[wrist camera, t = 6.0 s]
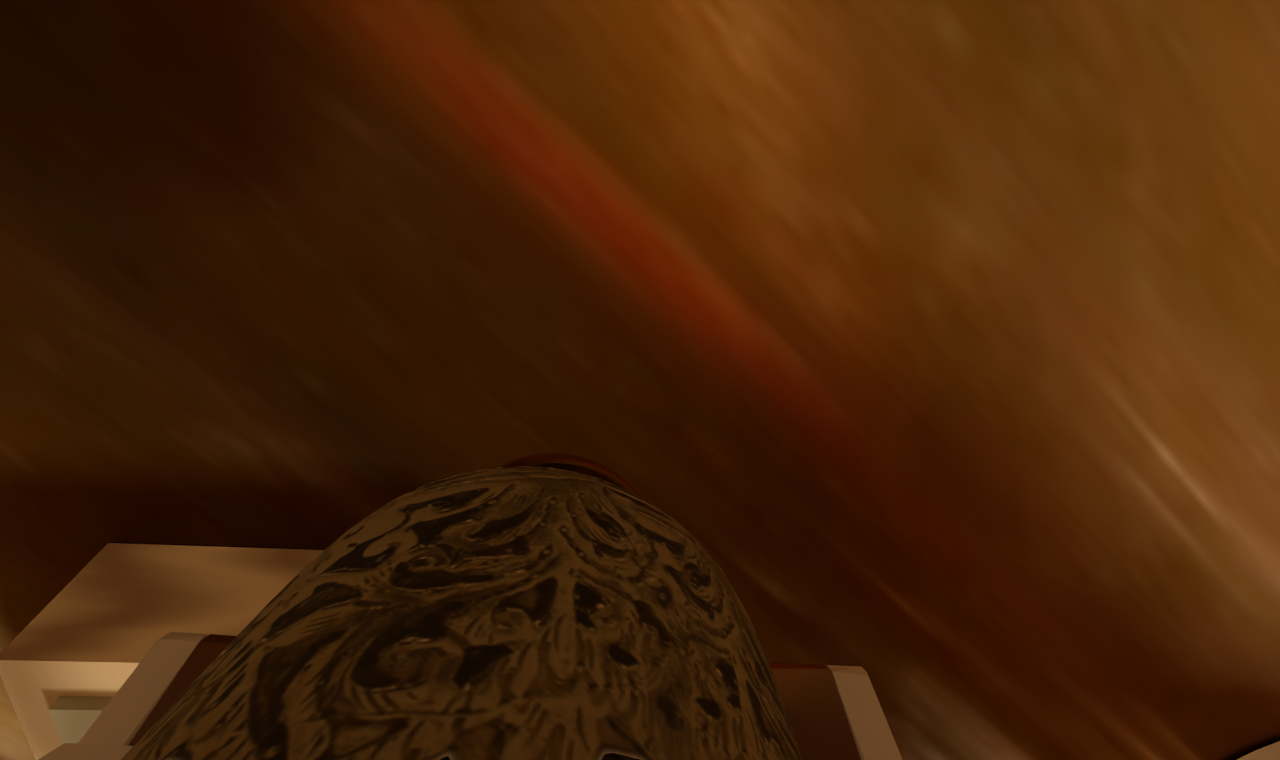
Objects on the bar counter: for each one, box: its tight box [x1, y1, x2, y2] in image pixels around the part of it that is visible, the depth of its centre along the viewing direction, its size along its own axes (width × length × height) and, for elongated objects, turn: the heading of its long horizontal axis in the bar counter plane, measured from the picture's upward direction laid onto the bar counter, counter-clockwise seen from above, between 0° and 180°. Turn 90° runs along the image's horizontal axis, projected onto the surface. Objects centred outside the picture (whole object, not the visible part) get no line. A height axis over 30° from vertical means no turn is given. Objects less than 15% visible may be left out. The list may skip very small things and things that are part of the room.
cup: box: [121, 453, 802, 760], centre depth 9 cm, size 8×7×8 cm
